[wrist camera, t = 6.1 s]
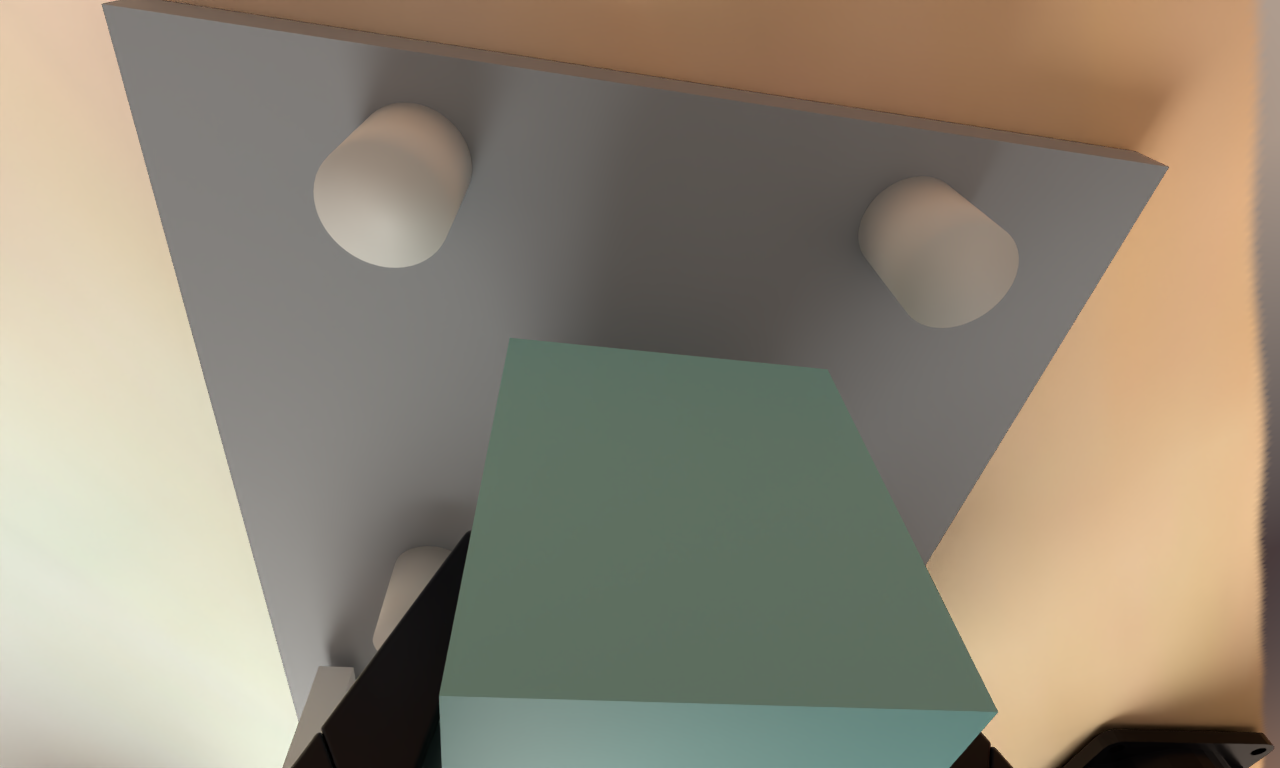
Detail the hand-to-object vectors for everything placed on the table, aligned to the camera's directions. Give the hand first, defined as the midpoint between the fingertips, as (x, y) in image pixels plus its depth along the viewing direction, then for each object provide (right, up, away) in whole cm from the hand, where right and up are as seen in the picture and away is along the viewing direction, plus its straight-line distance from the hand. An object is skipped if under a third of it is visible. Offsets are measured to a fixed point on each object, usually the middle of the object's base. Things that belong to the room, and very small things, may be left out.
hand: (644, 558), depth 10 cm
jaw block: (0, +1, +1) cm, 1 cm away
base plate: (-1, -1, +6) cm, 6 cm away
